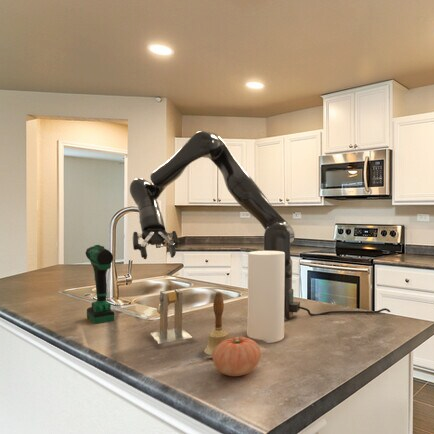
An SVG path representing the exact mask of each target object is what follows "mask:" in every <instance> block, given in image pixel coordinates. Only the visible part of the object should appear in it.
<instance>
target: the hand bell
mask: <svg viewBox="0 0 434 434" xmlns="http://www.w3.org/2000/svg"><path fill="white" fill-rule="evenodd" d="M222 295H223V294H222V292H220V291H219V292H216V293H215V295H214V299H213V306H212V307H213V314H214V317H215V322H214V323H215V325H214V330H213V331H212V332H210V333H209V336H208V337H209V338H208V343H207V346H206V348H205V349H204V351H203V352H204V353H205V354H207V355H209V356H211V355H212V357H208V358H207V360H209V361H213V352H214V350H215V348H216V347H217V345H218V344H219V343H221V342H222V341H224V340H227V339H229V336H228V332H227V331H225V330H223V322H222V320H223V313H224V308H225V304H224V303H225V302H224V299H223V296H222Z"/></svg>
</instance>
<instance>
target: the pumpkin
mask: <svg viewBox="0 0 434 434" xmlns="http://www.w3.org/2000/svg"><path fill="white" fill-rule="evenodd" d="M212 357H213V360H212V363H213V366H214V367H215V369H216V371H218V372H219V373H221V374H222V375H225V376H229V377H240V376H244V375H247V374H249V373H251V372H252V371H253V370H255V369H256V368H257V366H258V365H259V363H260V361H261V358H262V352H261V348H260V346H259V344H258V343H257V342H256V341H255V340H254V339H253V338H250V337H245V336H235V337H234V336H233V337H230V338H229V337H228V339H227V340H224V341H222V342H221V343H219V344H218V345H217V347H216V348H215V350H214V352H213V355H212Z"/></svg>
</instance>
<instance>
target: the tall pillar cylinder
mask: <svg viewBox="0 0 434 434" xmlns="http://www.w3.org/2000/svg"><path fill="white" fill-rule="evenodd" d="M284 286H285V253H284V252H281V251H264V250H253V251H248V252H247V322H246V323H247V324H246V325H247V328H246V329H247V333H246V334H247V335H246V336H247V337H248V338H249V339H252V340H262V341H264V342H265V343H267V344H273V343H276V342H280V341H281V340H283V339H284V338H285V320H284Z"/></svg>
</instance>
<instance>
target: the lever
mask: <svg viewBox="0 0 434 434" xmlns="http://www.w3.org/2000/svg"><path fill="white" fill-rule="evenodd" d="M167 293H168V307H169V306H170V304H175V301H176V300H177V297H176V292H175V291H172V292H167ZM156 312H157V313H158V314H159V315H160V304H159V305H158V306H157V307H156Z"/></svg>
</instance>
